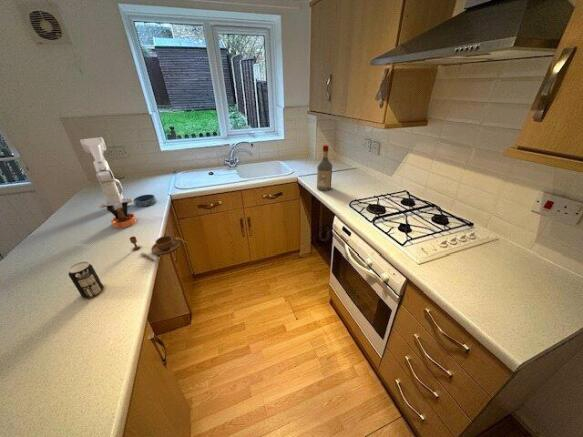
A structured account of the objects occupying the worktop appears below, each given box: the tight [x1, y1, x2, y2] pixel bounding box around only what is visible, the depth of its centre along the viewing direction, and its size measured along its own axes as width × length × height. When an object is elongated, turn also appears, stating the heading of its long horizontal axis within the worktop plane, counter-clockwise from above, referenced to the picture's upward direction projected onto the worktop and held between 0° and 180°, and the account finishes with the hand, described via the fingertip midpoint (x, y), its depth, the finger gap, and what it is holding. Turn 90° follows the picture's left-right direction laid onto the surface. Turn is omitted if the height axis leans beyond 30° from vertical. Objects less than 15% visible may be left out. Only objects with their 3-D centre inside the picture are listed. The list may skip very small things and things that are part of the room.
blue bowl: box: [132, 193, 157, 208], centre depth 155 cm, size 12×12×4 cm
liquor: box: [316, 144, 333, 192], centre depth 163 cm, size 9×9×30 cm
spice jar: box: [115, 207, 128, 222], centre depth 129 cm, size 4×4×8 cm
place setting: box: [129, 235, 188, 262], centre depth 111 cm, size 18×20×6 cm
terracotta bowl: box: [110, 212, 138, 230], centre depth 131 cm, size 11×11×4 cm
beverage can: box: [67, 261, 104, 299], centre depth 85 cm, size 7×7×12 cm
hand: (122, 216), depth 130 cm, fingers closed on spice jar, 4 cm apart
